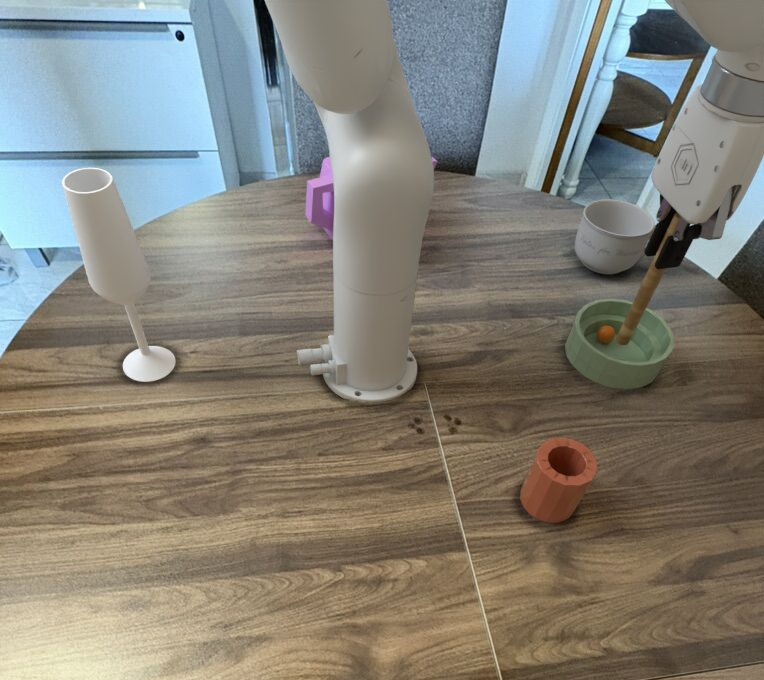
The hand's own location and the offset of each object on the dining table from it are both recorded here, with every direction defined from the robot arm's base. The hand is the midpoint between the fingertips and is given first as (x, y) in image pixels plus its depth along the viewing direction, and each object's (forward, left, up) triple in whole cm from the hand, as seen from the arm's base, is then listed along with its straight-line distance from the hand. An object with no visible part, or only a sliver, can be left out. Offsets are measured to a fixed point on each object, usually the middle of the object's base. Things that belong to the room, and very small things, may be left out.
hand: (661, 259), depth 73 cm
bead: (0, +3, -14) cm, 14 cm away
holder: (-19, -21, -16) cm, 33 cm away
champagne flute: (-62, +11, -16) cm, 65 cm away
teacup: (+10, +20, -16) cm, 27 cm away
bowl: (0, 0, -16) cm, 16 cm away
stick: (0, 0, -13) cm, 13 cm away
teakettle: (-26, +36, -16) cm, 47 cm away
